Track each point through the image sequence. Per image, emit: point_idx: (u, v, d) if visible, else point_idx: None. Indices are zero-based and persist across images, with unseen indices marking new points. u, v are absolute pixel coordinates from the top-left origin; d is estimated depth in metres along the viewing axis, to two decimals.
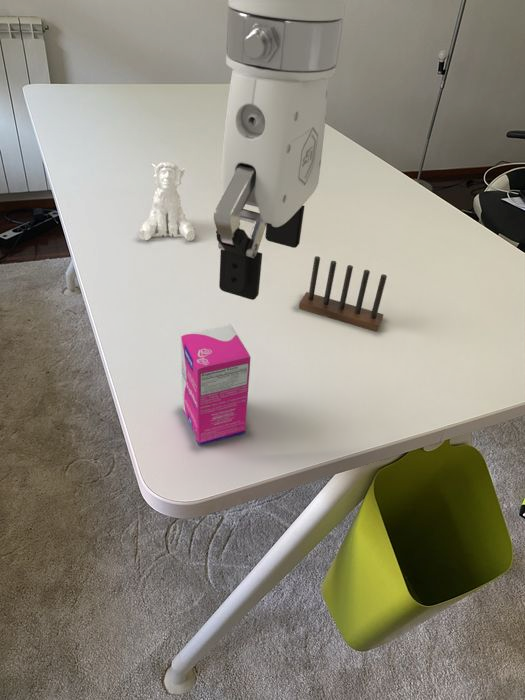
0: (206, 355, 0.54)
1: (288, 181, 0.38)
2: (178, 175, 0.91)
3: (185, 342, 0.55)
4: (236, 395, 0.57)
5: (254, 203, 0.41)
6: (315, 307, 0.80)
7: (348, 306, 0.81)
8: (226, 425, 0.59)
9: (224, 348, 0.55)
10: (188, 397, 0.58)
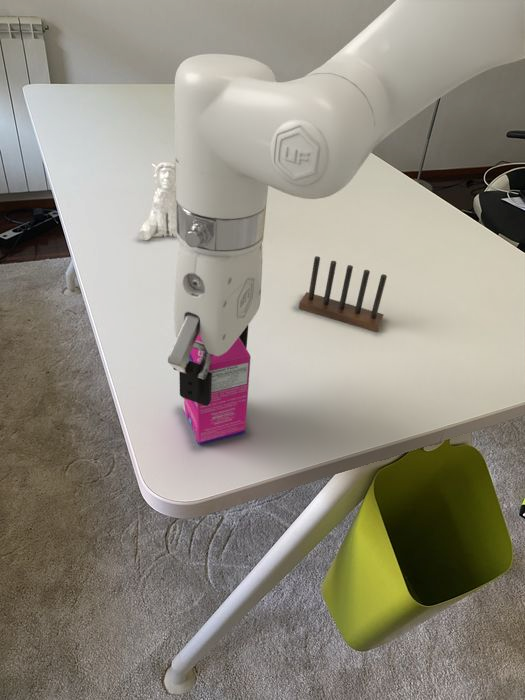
0: None
1: (227, 323, 0.48)
2: None
3: None
4: (236, 395, 0.57)
5: None
6: (315, 307, 0.80)
7: (348, 306, 0.81)
8: (226, 425, 0.59)
9: None
10: None
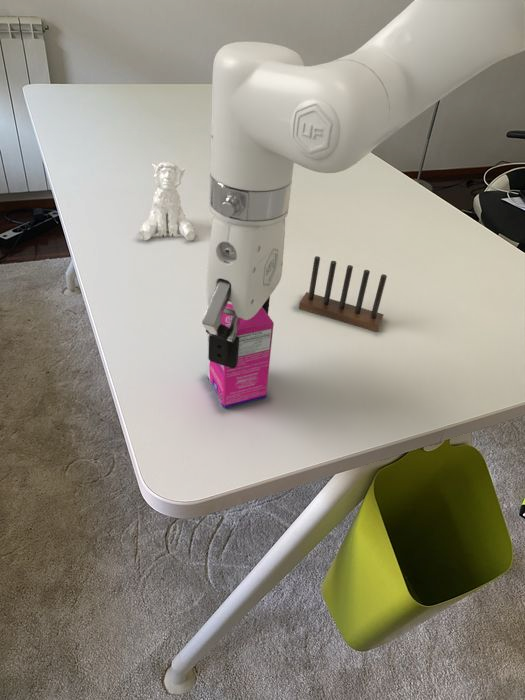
0: None
1: (255, 289, 0.53)
2: (178, 175, 0.91)
3: None
4: (259, 360, 0.61)
5: (231, 301, 0.55)
6: (315, 307, 0.80)
7: (348, 306, 0.81)
8: (249, 389, 0.64)
9: None
10: (214, 363, 0.63)
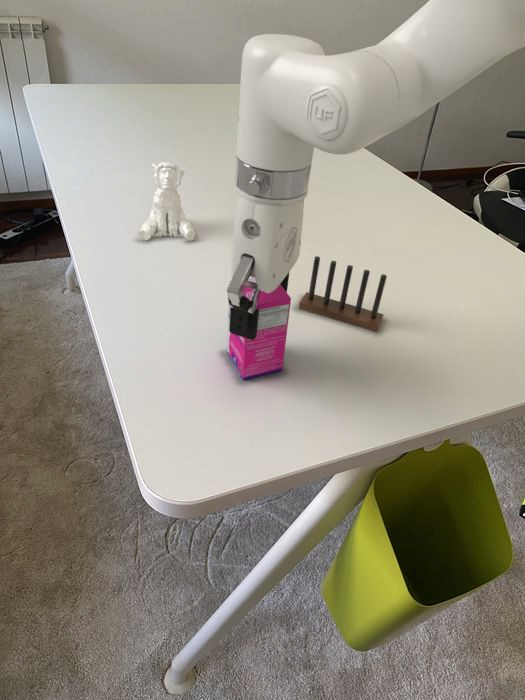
0: None
1: (276, 264, 0.57)
2: (178, 175, 0.91)
3: None
4: (276, 334, 0.66)
5: (253, 276, 0.60)
6: (315, 307, 0.80)
7: (348, 306, 0.81)
8: (267, 362, 0.68)
9: None
10: (234, 337, 0.67)
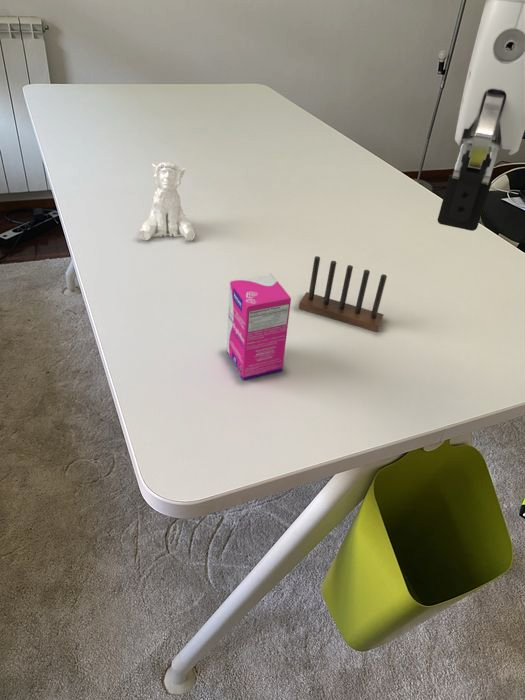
0: (253, 296, 0.63)
1: None
2: (178, 175, 0.91)
3: (234, 286, 0.64)
4: (276, 334, 0.66)
5: None
6: (315, 307, 0.80)
7: (348, 306, 0.81)
8: (267, 362, 0.68)
9: (268, 291, 0.64)
10: (234, 337, 0.67)
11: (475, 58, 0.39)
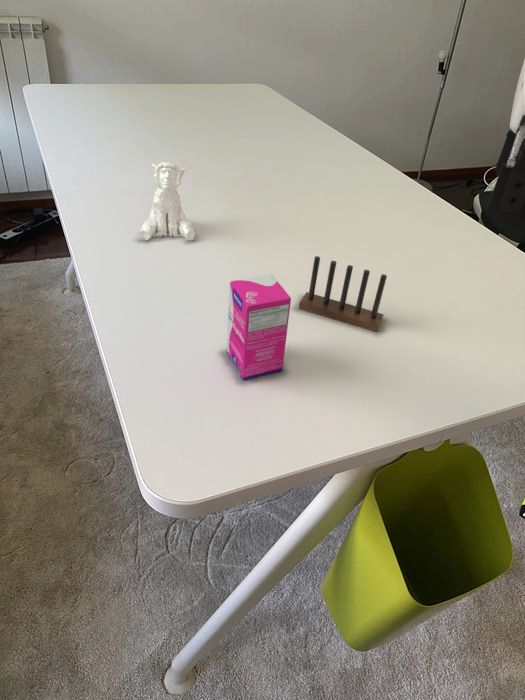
0: (253, 296, 0.63)
1: None
2: (178, 175, 0.91)
3: (234, 286, 0.64)
4: (276, 334, 0.66)
5: None
6: (315, 307, 0.80)
7: (348, 306, 0.81)
8: (267, 362, 0.68)
9: (268, 291, 0.64)
10: (234, 337, 0.67)
11: None
